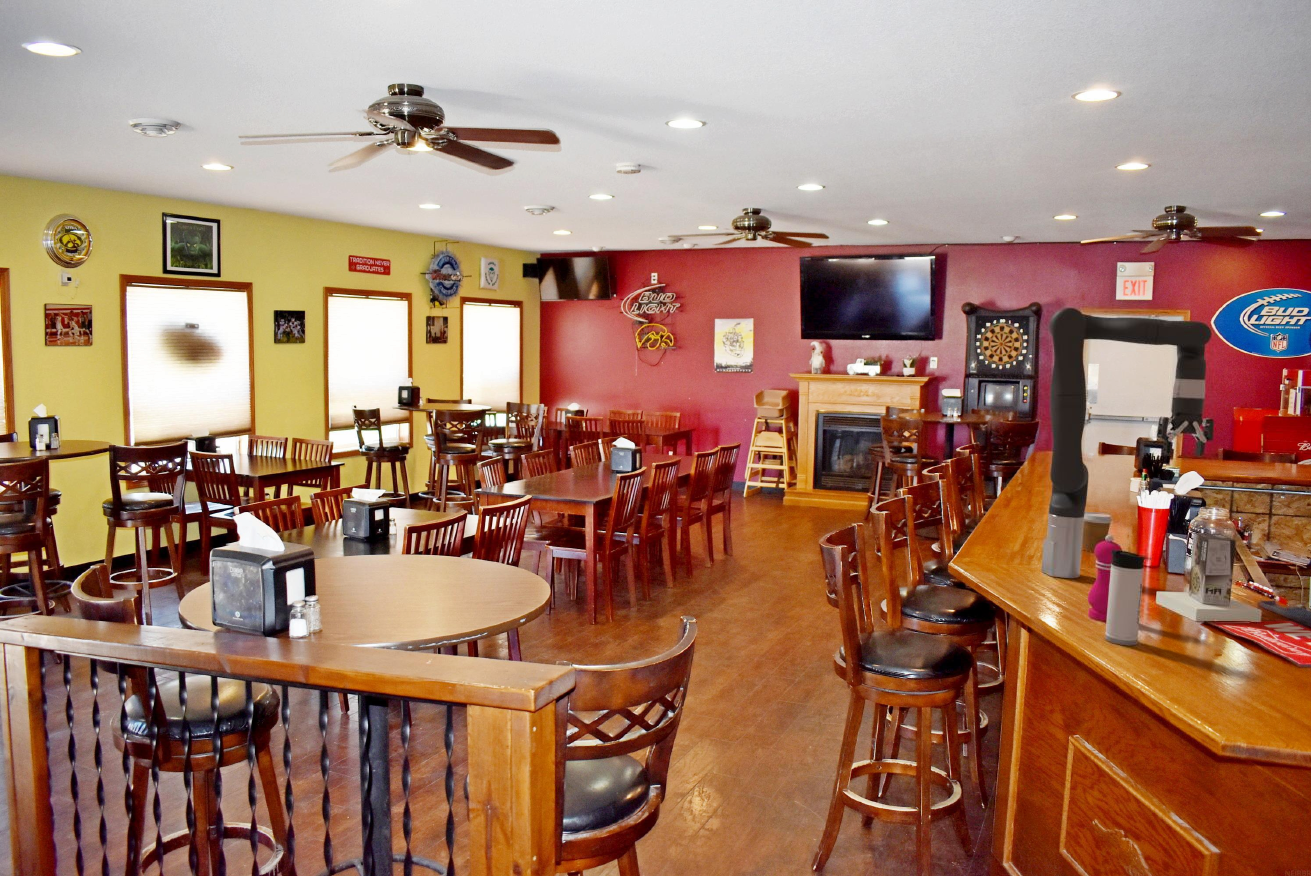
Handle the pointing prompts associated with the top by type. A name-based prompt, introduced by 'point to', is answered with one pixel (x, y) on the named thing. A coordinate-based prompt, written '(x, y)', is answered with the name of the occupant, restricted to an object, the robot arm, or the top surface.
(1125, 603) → the travel mug
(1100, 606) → the pepper mill
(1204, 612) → the plinth
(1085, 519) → the disposable coffee cup
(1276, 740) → the top surface
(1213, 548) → the coffee box
